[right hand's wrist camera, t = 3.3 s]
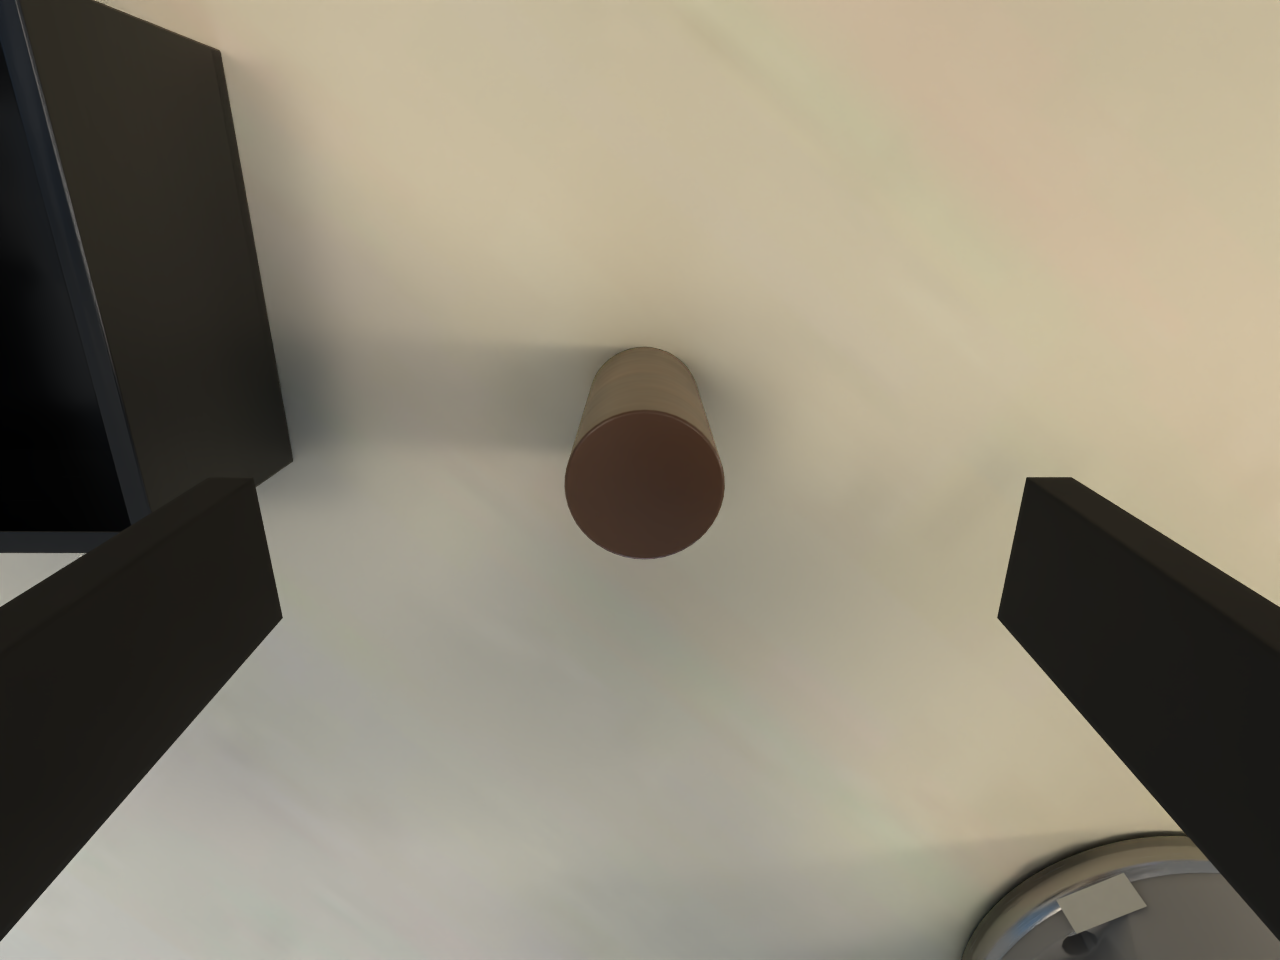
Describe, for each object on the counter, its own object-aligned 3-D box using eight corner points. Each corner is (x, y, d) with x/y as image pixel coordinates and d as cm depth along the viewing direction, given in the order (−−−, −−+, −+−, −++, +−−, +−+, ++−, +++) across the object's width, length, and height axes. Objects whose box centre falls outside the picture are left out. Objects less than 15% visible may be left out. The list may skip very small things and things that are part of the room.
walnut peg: (700, 346, 23) (728, 410, 15) (697, 453, 24) (721, 560, 16) (587, 346, 23) (560, 410, 15) (590, 453, 24) (566, 560, 17)
